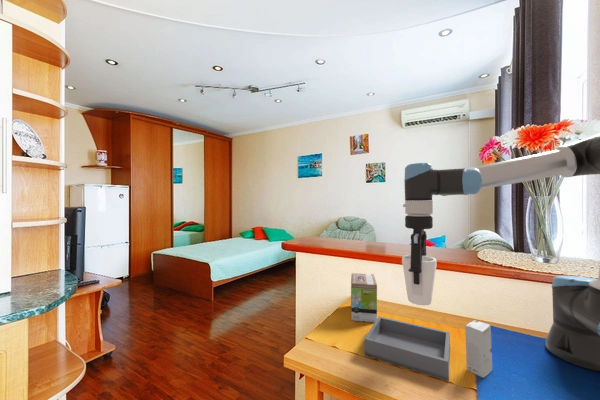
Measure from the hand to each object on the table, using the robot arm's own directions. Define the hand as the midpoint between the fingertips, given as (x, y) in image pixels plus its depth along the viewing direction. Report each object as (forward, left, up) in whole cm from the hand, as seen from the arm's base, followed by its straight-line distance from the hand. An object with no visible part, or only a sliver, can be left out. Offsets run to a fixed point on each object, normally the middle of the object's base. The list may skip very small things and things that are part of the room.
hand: (419, 289), depth 77 cm
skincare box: (-15, -1, -20) cm, 25 cm away
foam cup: (0, 0, -4) cm, 4 cm away
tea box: (+23, -19, -20) cm, 36 cm away
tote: (+3, 0, -20) cm, 20 cm away
